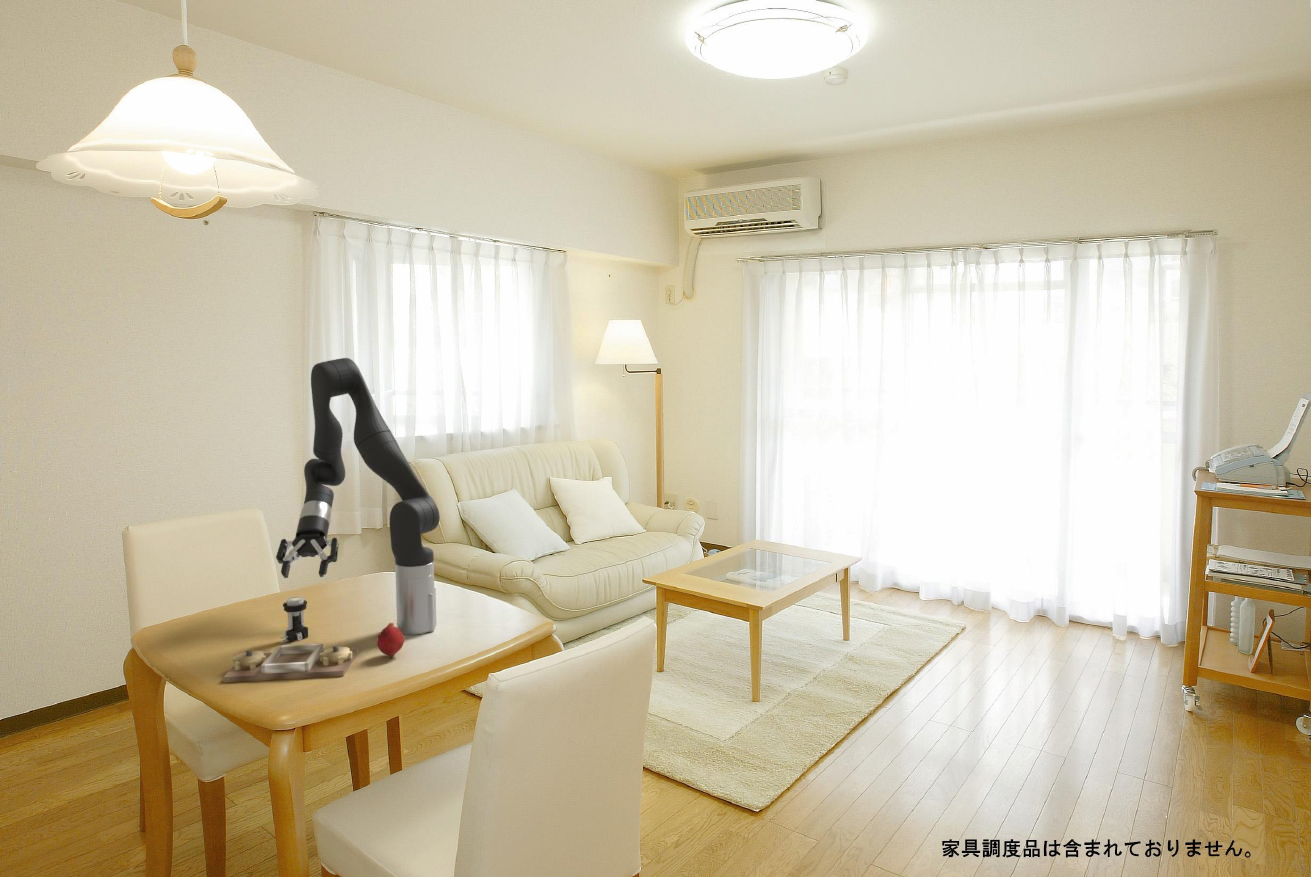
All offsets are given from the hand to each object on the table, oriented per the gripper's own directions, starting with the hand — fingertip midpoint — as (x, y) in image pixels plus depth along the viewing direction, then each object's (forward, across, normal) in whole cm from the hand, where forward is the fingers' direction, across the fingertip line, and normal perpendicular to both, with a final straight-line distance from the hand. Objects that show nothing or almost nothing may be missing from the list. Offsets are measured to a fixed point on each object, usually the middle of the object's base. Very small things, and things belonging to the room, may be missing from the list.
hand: (303, 576), depth 193 cm
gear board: (+28, +5, -10) cm, 30 cm away
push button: (+16, 0, +3) cm, 16 cm away
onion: (+26, +25, -7) cm, 37 cm away
